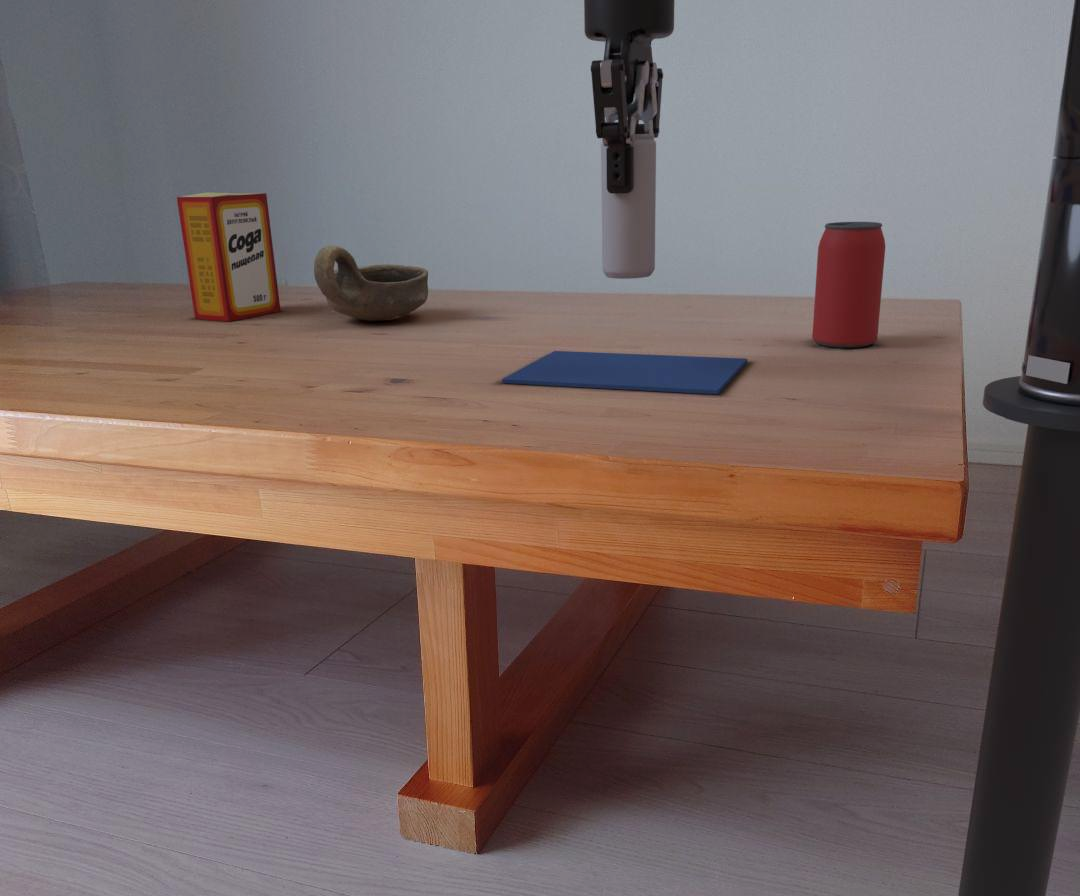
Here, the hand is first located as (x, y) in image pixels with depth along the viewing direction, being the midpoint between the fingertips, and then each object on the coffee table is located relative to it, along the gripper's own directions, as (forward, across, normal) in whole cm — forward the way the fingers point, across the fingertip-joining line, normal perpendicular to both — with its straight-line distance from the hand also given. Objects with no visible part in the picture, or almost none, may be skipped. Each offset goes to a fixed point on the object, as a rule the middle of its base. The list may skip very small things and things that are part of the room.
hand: (629, 190), depth 89 cm
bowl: (+16, +23, +41) cm, 50 cm away
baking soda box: (+16, +25, +63) cm, 70 cm away
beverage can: (+8, 0, 0) cm, 8 cm away
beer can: (+16, +19, -18) cm, 31 cm away
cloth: (+16, 0, 0) cm, 16 cm away
